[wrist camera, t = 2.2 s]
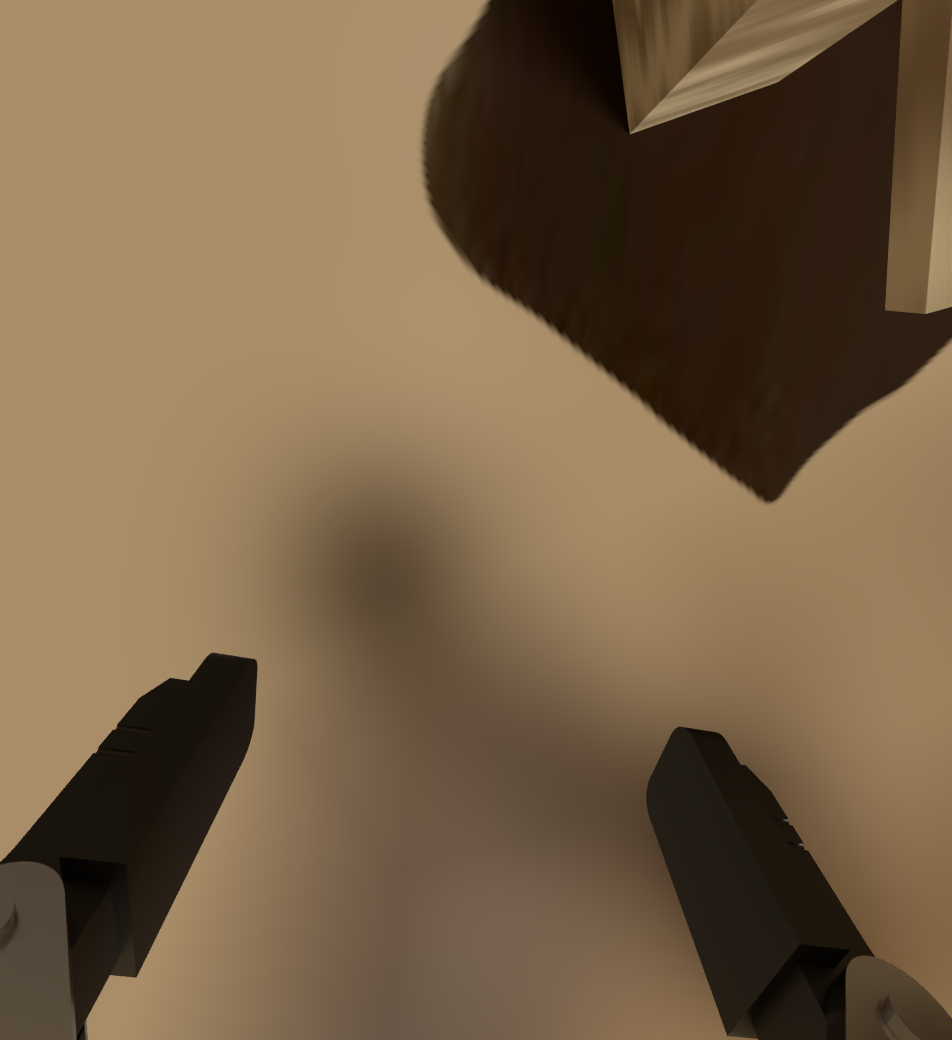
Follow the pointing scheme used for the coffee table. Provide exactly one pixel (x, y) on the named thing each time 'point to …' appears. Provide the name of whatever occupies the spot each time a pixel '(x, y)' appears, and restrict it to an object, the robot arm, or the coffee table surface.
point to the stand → (778, 52)
